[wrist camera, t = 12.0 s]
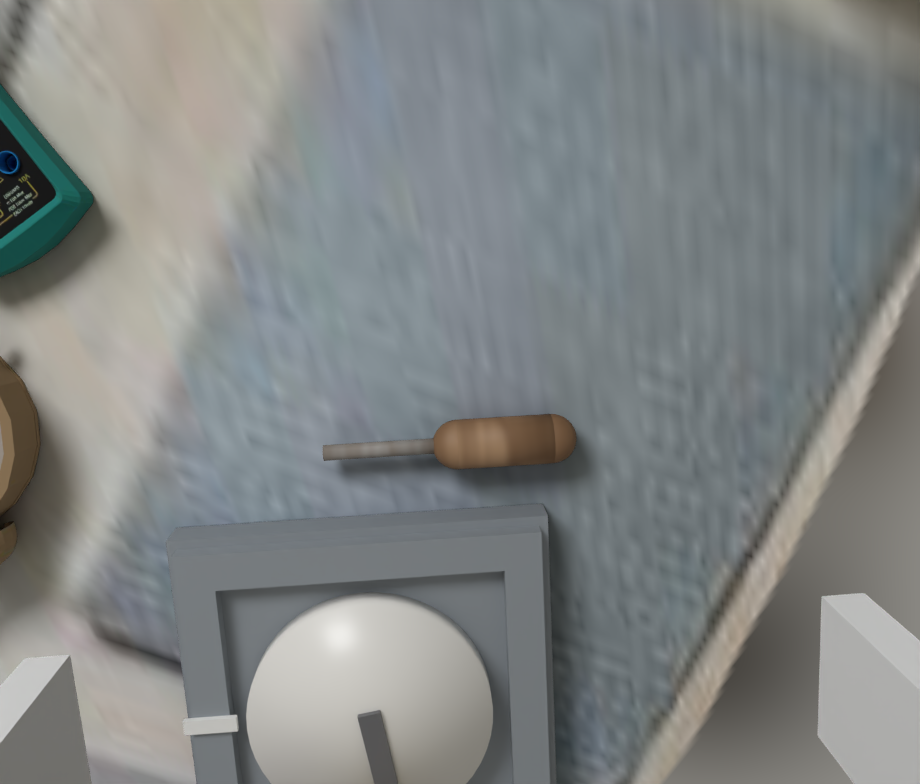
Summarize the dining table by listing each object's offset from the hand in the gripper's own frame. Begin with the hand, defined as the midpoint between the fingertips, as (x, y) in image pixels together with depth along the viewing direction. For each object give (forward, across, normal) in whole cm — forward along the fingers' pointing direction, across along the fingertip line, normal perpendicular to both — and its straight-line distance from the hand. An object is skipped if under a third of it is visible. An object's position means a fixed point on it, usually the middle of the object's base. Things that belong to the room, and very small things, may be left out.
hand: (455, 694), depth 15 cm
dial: (+29, -4, -18) cm, 34 cm away
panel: (+31, -4, -18) cm, 36 cm away
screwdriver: (+32, +1, -4) cm, 32 cm away
